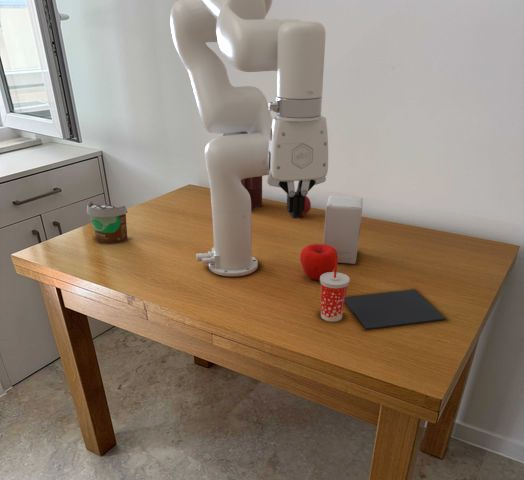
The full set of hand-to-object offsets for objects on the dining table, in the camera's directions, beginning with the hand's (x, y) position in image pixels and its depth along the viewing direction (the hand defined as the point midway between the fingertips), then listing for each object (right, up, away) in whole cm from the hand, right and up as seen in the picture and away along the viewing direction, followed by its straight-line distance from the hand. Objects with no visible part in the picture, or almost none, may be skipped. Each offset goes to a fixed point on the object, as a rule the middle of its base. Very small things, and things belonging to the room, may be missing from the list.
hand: (295, 215), depth 96 cm
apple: (+7, -7, +31) cm, 32 cm away
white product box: (+15, 0, +41) cm, 44 cm away
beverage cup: (+9, -18, +15) cm, 25 cm away
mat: (+22, -16, +17) cm, 32 cm away
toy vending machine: (-12, +23, +77) cm, 81 cm away
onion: (+6, +17, +68) cm, 70 cm away
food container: (-51, +6, +51) cm, 72 cm away
